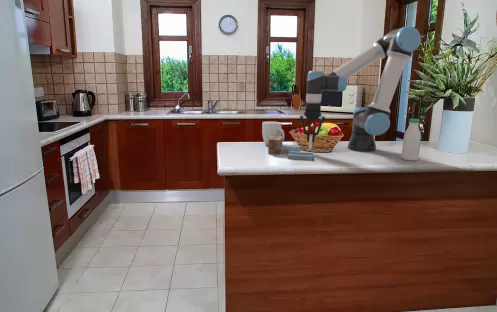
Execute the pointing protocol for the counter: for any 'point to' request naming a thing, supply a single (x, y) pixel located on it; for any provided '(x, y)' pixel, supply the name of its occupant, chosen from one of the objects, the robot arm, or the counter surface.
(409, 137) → the milk bottle
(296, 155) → the cradle
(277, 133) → the mug
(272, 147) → the bearing block
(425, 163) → the counter surface
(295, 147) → the shaft
